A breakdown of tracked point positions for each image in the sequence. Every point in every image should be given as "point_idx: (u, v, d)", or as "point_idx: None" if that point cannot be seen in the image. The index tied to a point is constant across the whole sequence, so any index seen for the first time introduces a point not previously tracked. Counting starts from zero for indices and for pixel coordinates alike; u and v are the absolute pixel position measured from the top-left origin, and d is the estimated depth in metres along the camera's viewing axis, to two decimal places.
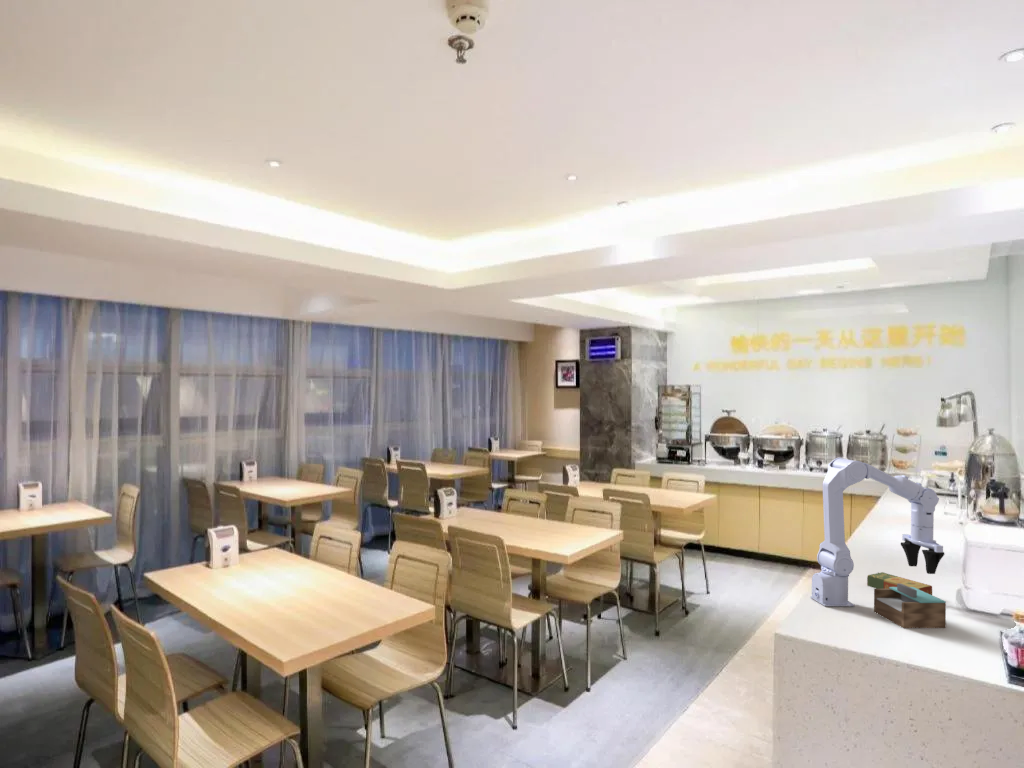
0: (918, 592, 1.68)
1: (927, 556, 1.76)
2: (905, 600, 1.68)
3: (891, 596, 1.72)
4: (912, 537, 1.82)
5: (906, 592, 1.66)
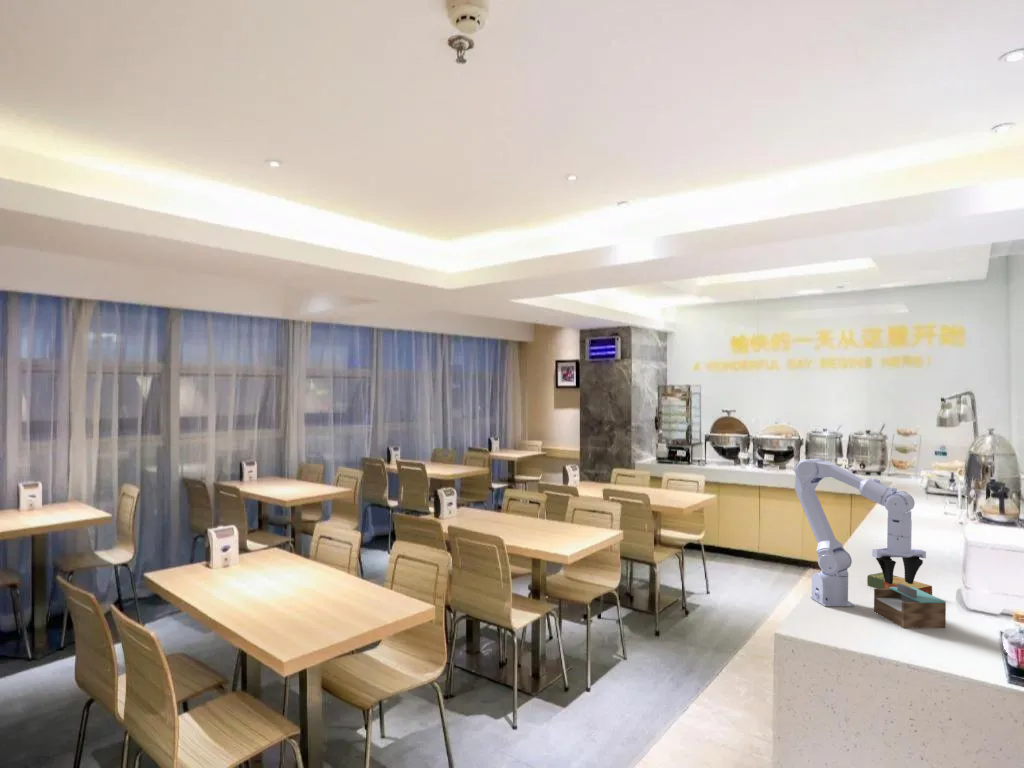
0: (918, 592, 1.68)
1: None
2: (905, 600, 1.68)
3: (891, 596, 1.72)
4: None
5: (906, 592, 1.66)
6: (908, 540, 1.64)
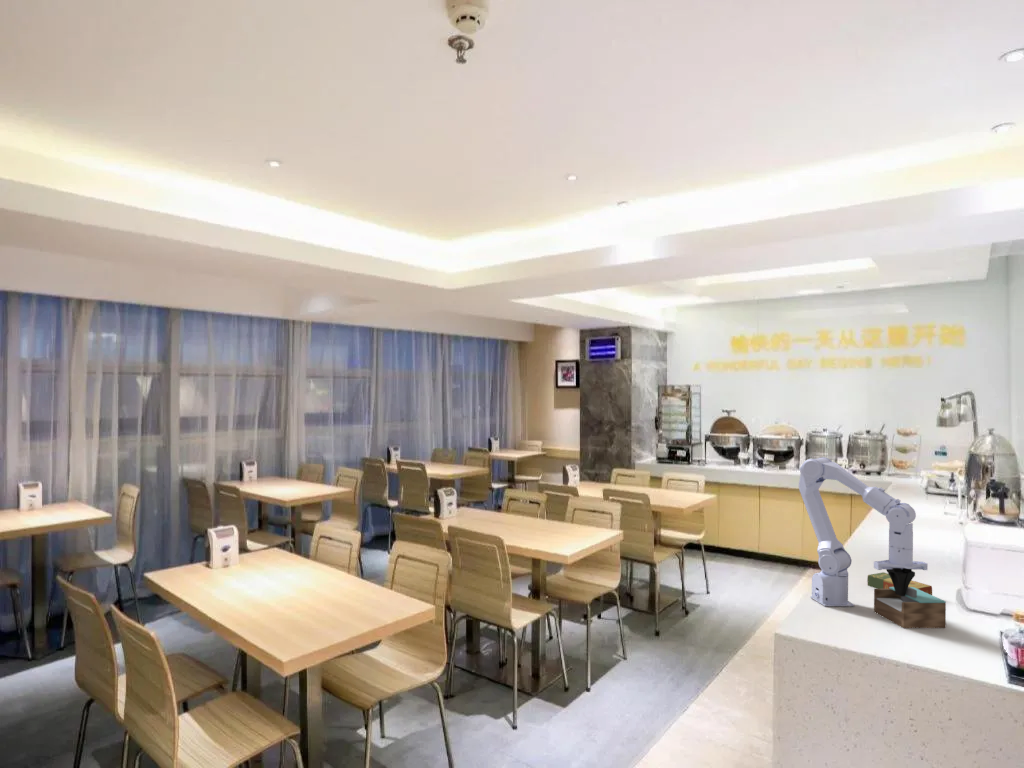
0: (918, 592, 1.68)
1: None
2: (905, 600, 1.68)
3: (891, 596, 1.72)
4: None
5: (906, 592, 1.66)
6: (909, 552, 1.64)
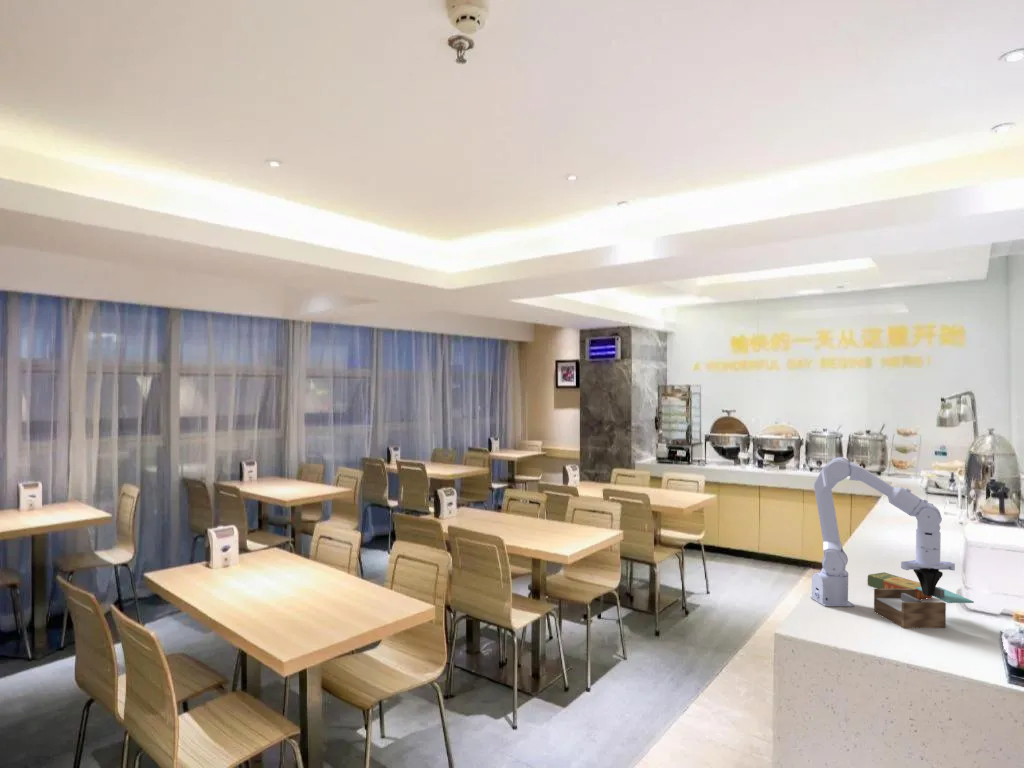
0: (945, 592, 1.69)
1: None
2: (905, 600, 1.68)
3: (891, 596, 1.72)
4: None
5: (933, 592, 1.66)
6: (937, 552, 1.65)
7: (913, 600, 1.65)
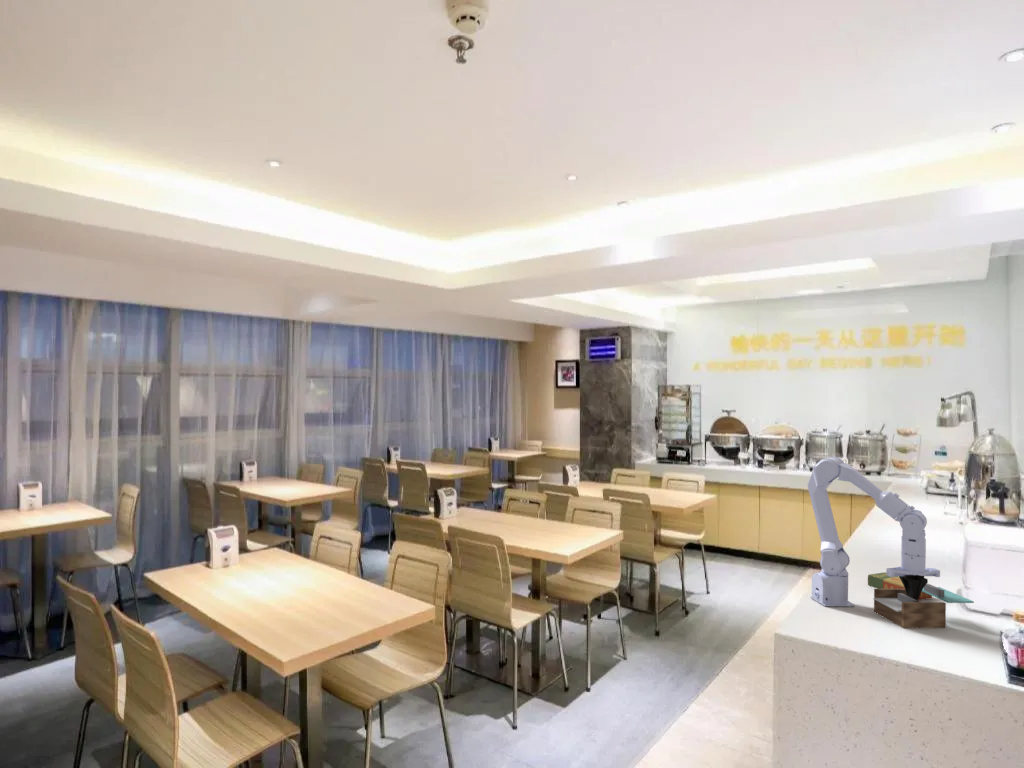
0: (945, 592, 1.69)
1: None
2: (902, 600, 1.68)
3: (891, 596, 1.72)
4: None
5: (933, 592, 1.66)
6: (922, 559, 1.64)
7: (910, 600, 1.65)
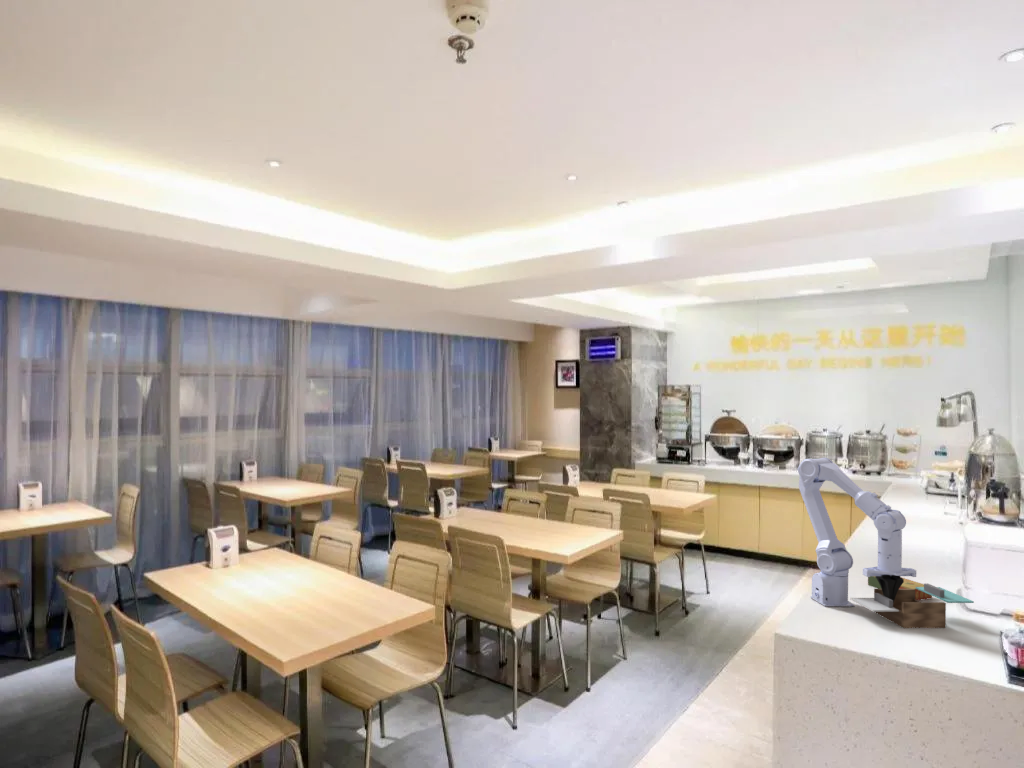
0: (945, 592, 1.69)
1: None
2: (878, 600, 1.67)
3: None
4: None
5: (933, 592, 1.66)
6: (898, 559, 1.64)
7: (886, 600, 1.64)
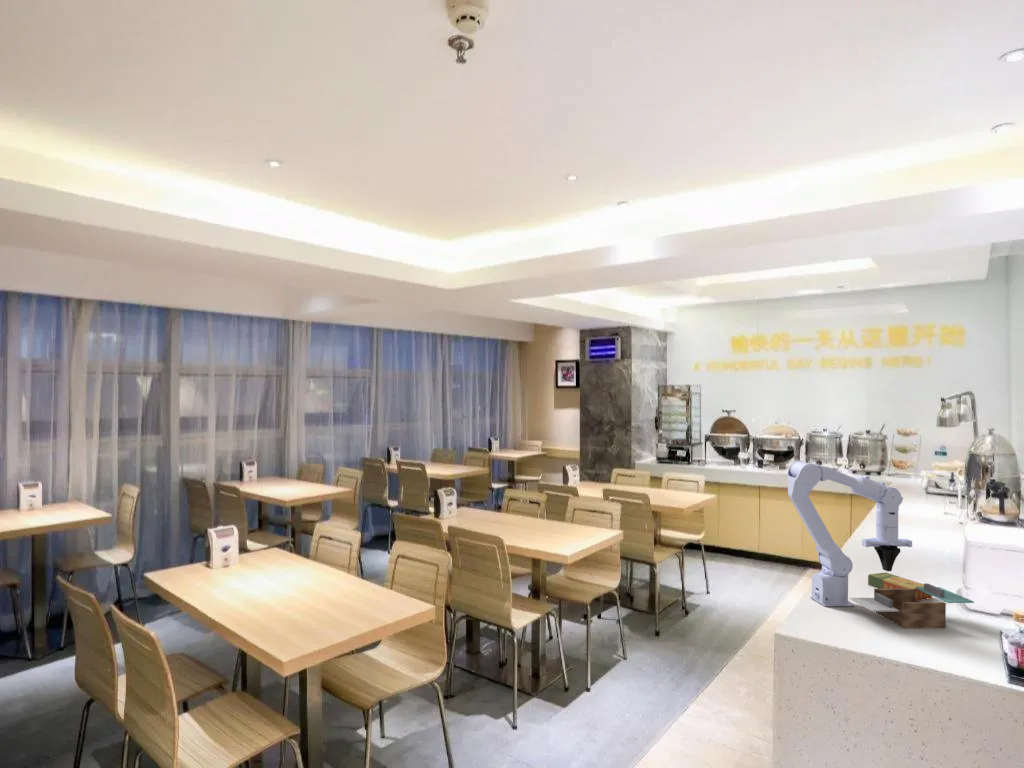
0: (945, 592, 1.69)
1: None
2: (878, 600, 1.67)
3: (891, 596, 1.72)
4: None
5: (933, 592, 1.66)
6: (895, 530, 1.76)
7: (886, 600, 1.64)
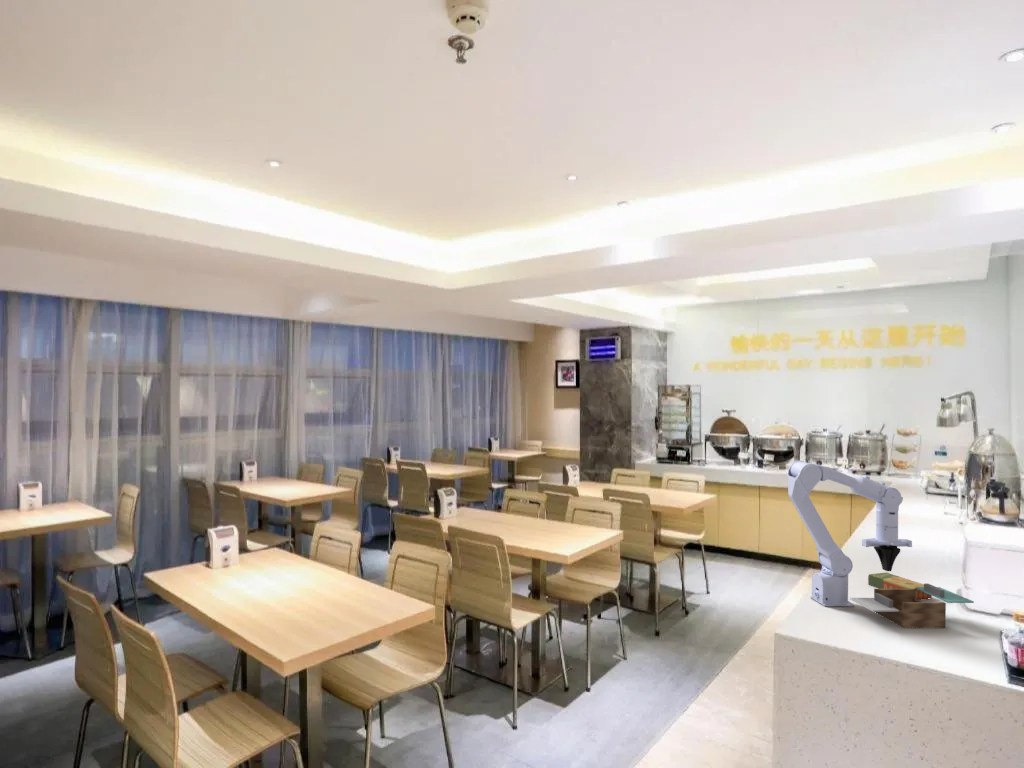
0: (945, 592, 1.69)
1: None
2: (878, 600, 1.67)
3: (891, 596, 1.72)
4: None
5: (933, 592, 1.66)
6: (895, 530, 1.76)
7: (886, 600, 1.64)
